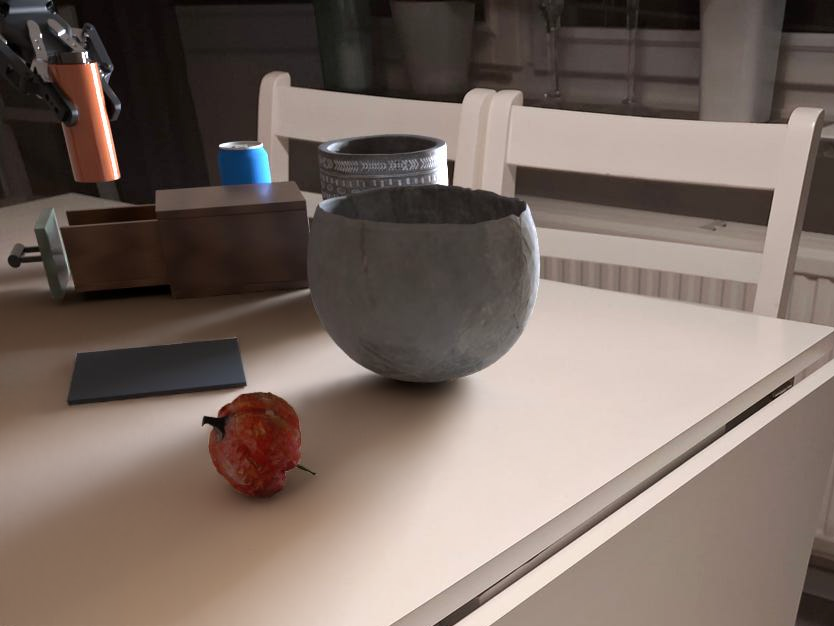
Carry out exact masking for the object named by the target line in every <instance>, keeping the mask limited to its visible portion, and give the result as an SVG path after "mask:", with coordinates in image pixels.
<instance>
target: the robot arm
mask: <svg viewBox="0 0 834 626" xmlns="http://www.w3.org/2000/svg"><path fill="white" fill-rule="evenodd" d="M70 50H82V51H86V55H87V60H88V61H95V62H97V65H98V70H99V75H100V80H101V85H102V90H103V94H104V99H105V104H106V109H107V114H108V119H109V122H113V121H117V120H118V118H119V115H120V114H121V110H122V108H121V106H122V103H121V100H120V99H119V98H118V96H117V95H116V94H115V92H114V91H113V89H112V88H111V87H110V85H109V80H110V77H111V75H112V73H113V70H114V65H113V63H112V60H111V58H110V56H109V55H108V53H107V50H106V48H105V46H104V44H103V41H102V40H101V38H100V36H99V34H98V32H97V30H96V28H95V26H94V25H93V24H91V23H90V22H84V24H83V27H82V28H79V27H73V26H72V27H71V25H70V24H69V23H68V22H67V21H66V20H64V19H63V18H62V17H61V16H60V15H59V14H58V13H57V11H56V8H55V5H54V3H53V0H0V75H1V76H2V77H3V78H4V79H5V80H6V81H7V82H8V84H10V85H11V86H12V87H13V88H14V90H16V91H17V93H19V94H20V95H21V96H24V97H28V96H29V95H30V94H32V95H36V97H38V98H39V99H40V100H43V102H44V103H45V104H46V105H47V107H48V108H49V109H50V110H51V112H52V114H53V115H54V117H55V118H56V119H57V120H58V121H59V122H60V123H61V122H63V123H64V124H65V126H66V127H73V126H74V125H75V122H76V119H77V116H78V113H77V110H76V108H75V107H74V106H73V104H72V103H71V101H70V100H69V99H68V97H67V96H66V94H65V93H64V92H63V90H62V89H61V88H60V86H59V85H58V83H52V80H53V78H52V75H51V72H50V69H49V66H48V64H49V63H53V62H56V58H55V54H54V52H57V51H70ZM15 71H16V72H15Z"/></svg>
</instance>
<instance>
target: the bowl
mask: <svg viewBox="0 0 834 626" xmlns="http://www.w3.org/2000/svg"><path fill="white" fill-rule="evenodd" d="M309 229H310V233H309V241H308V249H307V273H308V282H309V287H308V288H309V293H310V297H311V300H312V304H313V307H314V310H315V312H316V315H317V317H318V319H319V321H320V323H321V324H322V326H323V329H324V330H325V332H326V333H327V335H328V336H329V337H330V339H331V340H332V342H334V344H335V345H336V346H337V347H338V348H339V349H340V350H341V351H342V352H343V353H344V354H345V355H346V356H347V357H348V358H349V359H351V360H352V361H353V362H355V364H358V365H360V366H361V367H363V368H365V369H366V370H368V371H370V372H372V373H375V374H377V375H379V376H383V377H385V378H388V379H392V380H397V381H402V382H411V383H425V384H426V383H440V382H447V381H452V380H458V379H460V378H464V377H468V376H471V375H474V374H477V373H479V372H482V371H483V370H485V369H487V368H489V367H490V366H491V365H493V364H495V363H496V362H498V361H499V360H500V359H502V357H504V356H505V355H506V354H507V353H509V352H510V350H511V349H512V348H513V347H514V345H515V344H516V343H517V342H518V341H519V339H520V337H521V336H522V334H523V333H524V331H526V328H527V327H528V325H529V322H530V320H531V317H532V314H533V312H534V309H535V306H536V303H537V297H538V291H539V285H540V275H541V261H540V260H541V259H540V258H541V257H540V256H541V254H540V247H539V239H538V234H537V230H536V229H537V228H536V224H535V222H534V219H533V216H532V213H531V209H530V207H529V205H528V203H527V202H526V201H525V200H523V199H521V198H519V197H513V196H506V195H502V194H498V193H497V192H494V191H491V190H486V189H480V188H476V189H473V188H471V187H463V186H461V185H452V184H451V185H450V184H448V185H441V184H429V185H403V186H385V187H379V188H372V189H368V190H364V191H361V192H353V193H351V194H349V195H346V196H341V197H335V198H330V199H327V200H324V201H323V200H322V201H320V202H319V203H318V204H317V206H316V207H315V210H314V212H313V218H312V221H311V224H310V228H309Z"/></svg>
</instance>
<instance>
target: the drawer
mask: <svg viewBox="0 0 834 626" xmlns="http://www.w3.org/2000/svg"><path fill="white" fill-rule="evenodd" d="M155 205H156V203H147V204H136V205H135V204H133V205H122V206H121V205H119V206H106V207H93V208H92V207H91V208H80V209H79V208H78V209H67V210H65V215H66V220H67V223H68V225H65V226H60V227H59V223H58V220H57V215H56V213H55V208H54V207H43V208H42V210H41V212H40V215H39V217H38V219H37V221H36V224H35V226H34V228H33V232H34V234H35V239H36V242H37V245H31V246H25V245H24V244H22V243H14V245H13V247H12V249H11V250H10V253H9V254H8V256H7V263H8V265H9V266H10V267H11V268H13V269H18V268H19V267H21V265H22V264H30V263H31V264H32V263H42V264H43V269H44V272H45V276H46V280H47V283H48V287H49V290H50V294H51V298H52V300H61V299H64V298H65V294H66V290H67V287H68V283H69V279H70V277H71V279H72V281H73V285H74V289H75V292H76V293H84V292H97V291H106V290H107V291H108V290H118V289H119V290H120V289H132V288H142V287H153V286H154V287H155V286H165V285H166V286H167V285H170V282H169V277H168V272H167V267H166V262H165V257H164V252H163V247H162V242H161V237H160V232H159V227H158V222H157V217H156V212H155ZM34 253H39V254H38V255H26V254H34Z"/></svg>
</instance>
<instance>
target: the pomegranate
mask: <svg viewBox="0 0 834 626" xmlns="http://www.w3.org/2000/svg"><path fill="white" fill-rule="evenodd" d="M205 425H209V426H211V427H212V429H211V431H210V432H209V435H208V441H207V443H208V444H207V449H208V454H209V457H210V460H211V463H212V466H213V467H214V468H215V470H216V472H217V474H219V475H220V476H221V477H222V478H223V479H224V480H225V481H227V483H228V484H229V485H230V486H231V488H233V489H234V490H235V491H237V492H239V493H240V494H242V495H244V496H248V497H249V498H250V497H251V498H272V497H273V496H275V495H277V494H279V493H280V492H282V491H283V490H284V488H285V486H286V482H287V474H286V473H287V472H289V471H292V470H295V469H296V468H297V469H299V470H301V471H303V472H306V473H308V474H310V475H312V476H316V475H317V472H315V471H312V470H311V469H309V468H307V467H305V466H304V465H301V464H299V463H300V462H301V459H302V451H301V446H302V443H303V440H302V439H303V438H302V430H301V424H300V418H299V415H298V413H297V412H296V410H295V408H294V407H293V406H292V405H291V404H289V402H288V401H287V400H286V399H285V398H283V397H281V396H278V395H277V394H274V393H272V392H270V391H268V392H264V391H254V392H247V393H246V392H245V393H241V394H239V395H238V396H236V397H235V398H234V399H233V400H232V401H231V402H228V403H226V404H224V405H222V406H221V407H220V409H218V411H217V416H209V415H203V417H202V421H201V427H202V428H203V427H204V426H205Z"/></svg>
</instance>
